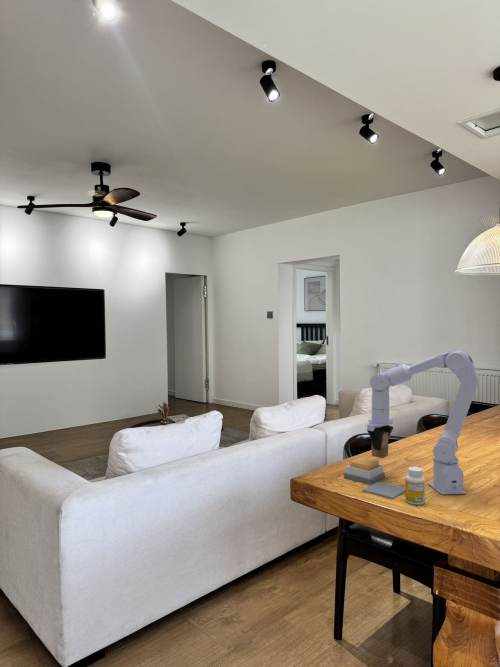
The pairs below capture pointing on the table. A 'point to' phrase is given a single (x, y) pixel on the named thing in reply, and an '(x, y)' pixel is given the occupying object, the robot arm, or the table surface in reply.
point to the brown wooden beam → (382, 447)
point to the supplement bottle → (415, 486)
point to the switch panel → (364, 474)
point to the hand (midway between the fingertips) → (380, 448)
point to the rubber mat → (385, 490)
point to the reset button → (364, 463)
